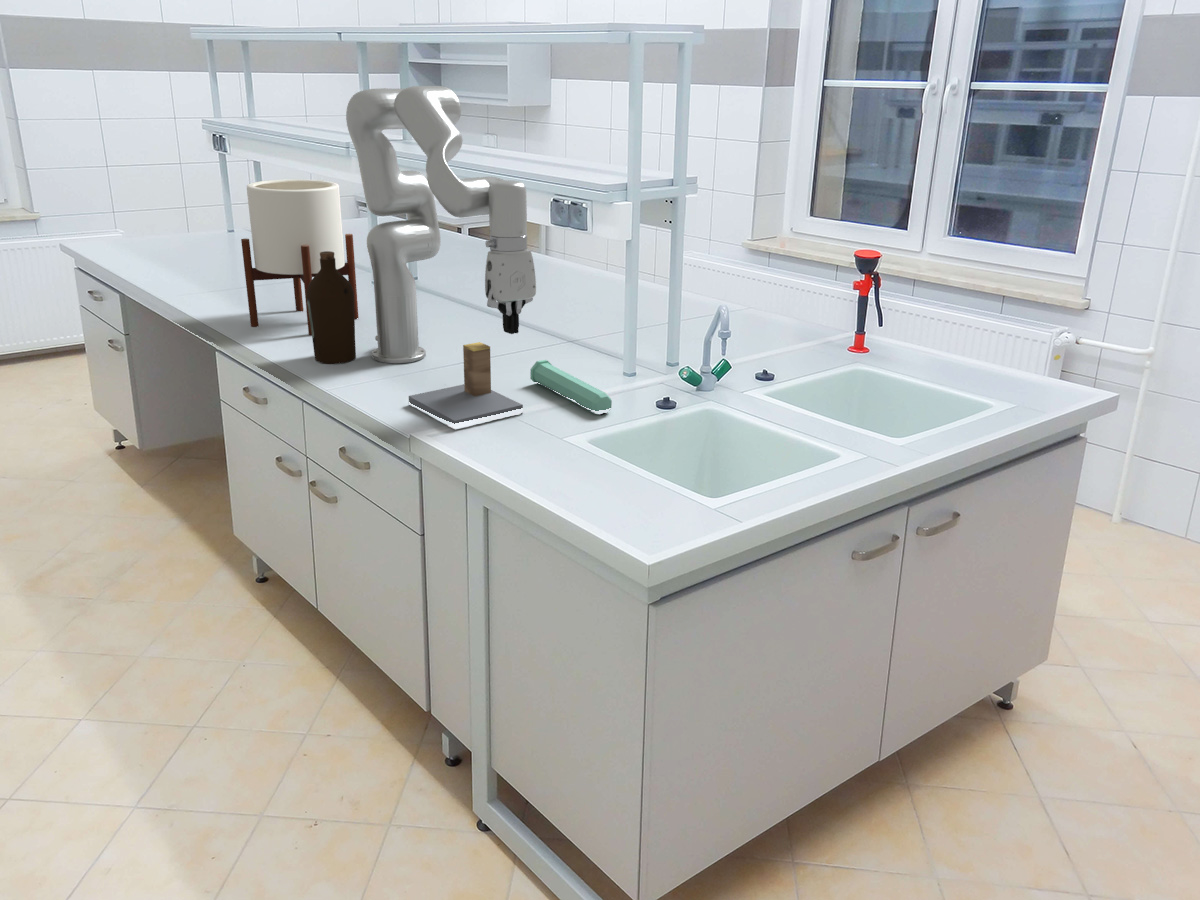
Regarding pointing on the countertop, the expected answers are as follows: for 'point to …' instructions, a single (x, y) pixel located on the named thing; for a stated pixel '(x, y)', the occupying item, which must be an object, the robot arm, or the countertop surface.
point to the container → (569, 386)
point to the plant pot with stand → (294, 236)
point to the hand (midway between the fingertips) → (511, 332)
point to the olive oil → (331, 313)
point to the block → (477, 369)
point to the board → (462, 404)
